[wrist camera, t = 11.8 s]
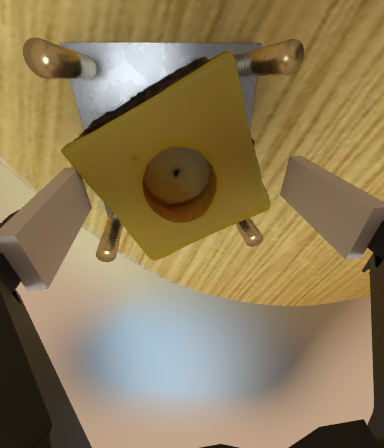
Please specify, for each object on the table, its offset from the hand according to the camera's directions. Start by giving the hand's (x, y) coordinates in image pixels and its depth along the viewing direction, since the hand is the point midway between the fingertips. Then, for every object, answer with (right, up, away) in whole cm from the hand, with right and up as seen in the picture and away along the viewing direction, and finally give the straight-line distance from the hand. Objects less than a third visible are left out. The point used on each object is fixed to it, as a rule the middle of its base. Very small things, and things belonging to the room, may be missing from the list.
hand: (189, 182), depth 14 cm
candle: (-2, +6, +8) cm, 10 cm away
